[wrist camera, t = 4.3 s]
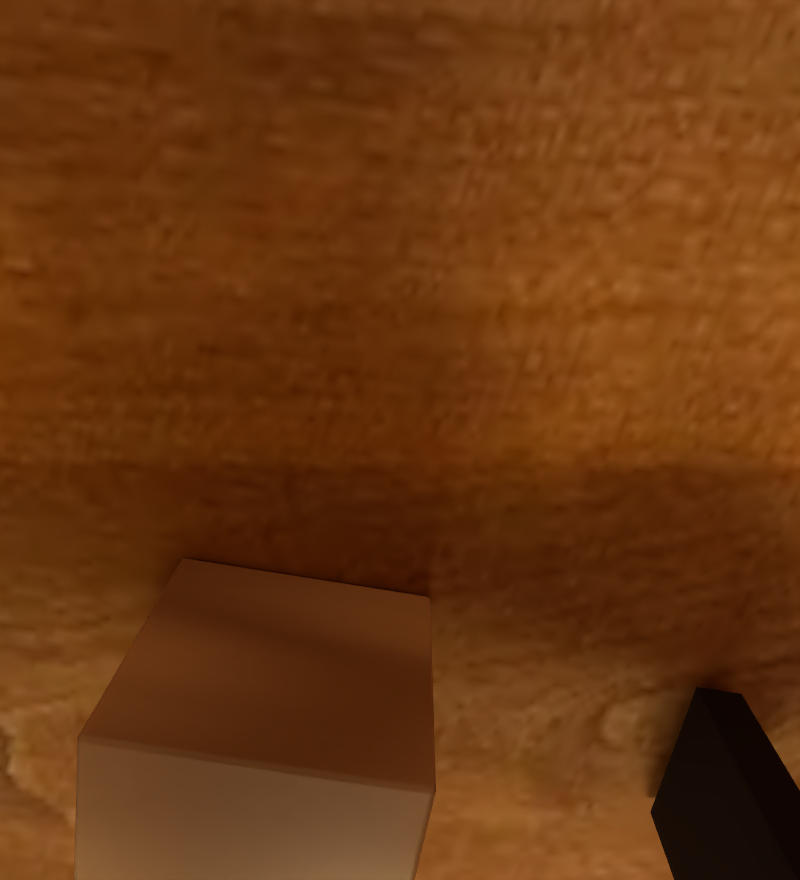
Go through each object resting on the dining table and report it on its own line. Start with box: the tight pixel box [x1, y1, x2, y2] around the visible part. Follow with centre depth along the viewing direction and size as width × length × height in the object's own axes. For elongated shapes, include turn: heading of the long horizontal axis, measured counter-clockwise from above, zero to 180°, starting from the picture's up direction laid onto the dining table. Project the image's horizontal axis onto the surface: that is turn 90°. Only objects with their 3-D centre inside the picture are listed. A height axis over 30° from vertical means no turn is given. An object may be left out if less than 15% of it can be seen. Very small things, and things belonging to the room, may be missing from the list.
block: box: [74, 559, 436, 880], centre depth 11 cm, size 4×4×4 cm
